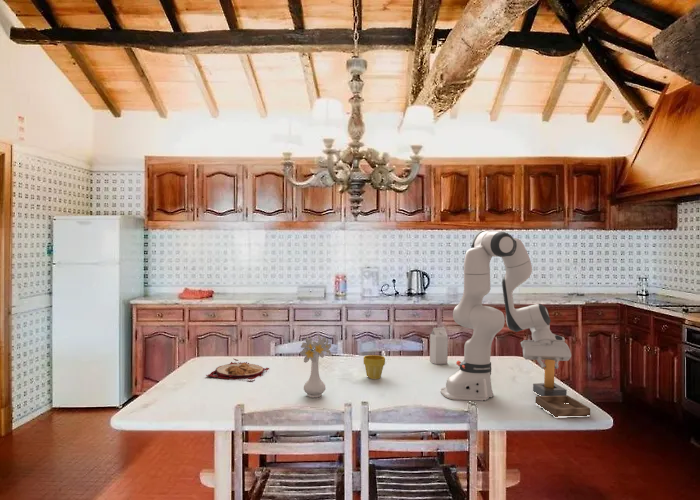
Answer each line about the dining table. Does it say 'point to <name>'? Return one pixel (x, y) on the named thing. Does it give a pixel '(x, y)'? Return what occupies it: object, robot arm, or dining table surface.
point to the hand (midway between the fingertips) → (550, 367)
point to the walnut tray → (562, 406)
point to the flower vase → (314, 365)
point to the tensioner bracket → (549, 390)
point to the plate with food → (238, 371)
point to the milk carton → (439, 346)
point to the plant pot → (374, 366)
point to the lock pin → (549, 373)
